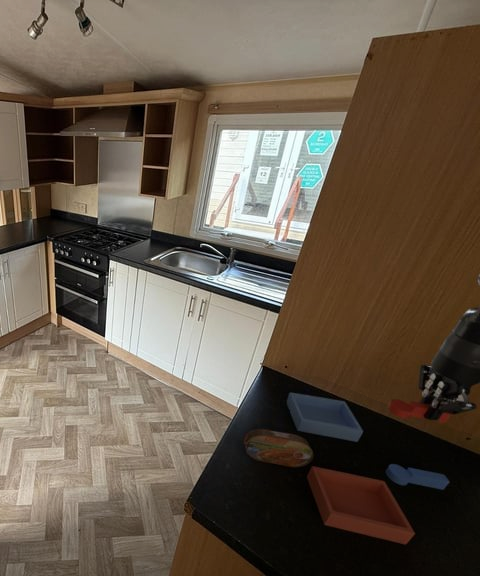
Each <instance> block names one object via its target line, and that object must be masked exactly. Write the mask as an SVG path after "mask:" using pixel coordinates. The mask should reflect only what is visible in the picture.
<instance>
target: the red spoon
mask: <svg viewBox="0 0 480 576" xmlns="http://www.w3.org/2000/svg"><path fill="white" fill-rule="evenodd" d="M419 402H420V401H419ZM419 402H418V401H413V400H410V401H409V402H408V403H407V402H406V401H404V400H401V399H398V398H392V399H391V400H390V401H389V402H388V404H387V410H388V411H389V412H390V413H391V414H392V415H394V416H396V417H399V418H402V419H408V418H410V417H413V418H418V419H419V418H420V419H423V420H424V419H425V420H427V419H426V418H425V417H424V414H425V413H426V411H427V410H428V408H429V406H430V404H424V403H419ZM451 416H452V414H449V413H443V414H442V415H441V416H440V418H439V420H435V422H441V423H447V421H448V420H449V418H450V417H451Z"/></svg>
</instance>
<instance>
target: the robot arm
mask: <svg viewBox="0 0 480 576" xmlns="http://www.w3.org/2000/svg"><path fill="white" fill-rule="evenodd" d="M477 285H478V287H479V288H480V274H478V276H477ZM426 381H427V382H426ZM478 384H480V306H474V307H470V308H469V309H467V310H466V311H465V312H464V313H463V314H462V315H461V317H460V319H458V321H457V323H456V325H455V326H454V328H453V329H452V331H451V332H450V334H448V335H447V336H446V338H445V339H444V341H443V343H442V344H441V346H440V347H439V349H438V351H436V354H435V356H433V358H432V360H431V362H430V365H428V364H420V366H419V375H418V390H419V391H422V392H421V396H422V397H421V399H420V400H419V403H424V404H430V406H429V408H428V410H427V411H426V413H425V414H424V417H425V418H426V419H425V420H428V421H433V422H434V421H435V420H439V418H440V416H441V415H442V414H443V413H449V414H451V415H455V416H456V415H459V414H462V413H466V412H470V411H473V410H476V409H477V404H476V403H475V402H470V401H471V400H470V399H469V397H468V396H469V395H470V393H471V389H472V387H473V386H475V385H478ZM435 422H436V421H435Z"/></svg>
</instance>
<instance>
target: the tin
mask: <svg viewBox="0 0 480 576" xmlns="http://www.w3.org/2000/svg"><path fill="white" fill-rule="evenodd" d="M243 443H244V450H245V452H246V454H247V455H248V456H249V457H250V458H252V459H253V460H256V461H258V462H264V463H269V464H274V465H279V466H283V467H289V468H302V467H305V466H307V465H309V464H310V463H311V462H312V461H313V459H314V451H313V449H312V448H311V445H310V444H309V442H308V441H307V440H306V439H305V438H304V437H302V436H301V435H297V434H293V433H287V432H283V431H277V430H271V429H266V428H256V429H253V430H250V431H249V432H247V433H246V434H245V437H244V440H243Z"/></svg>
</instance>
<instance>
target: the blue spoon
mask: <svg viewBox="0 0 480 576" xmlns="http://www.w3.org/2000/svg"><path fill="white" fill-rule="evenodd" d="M385 474H386V476H387V477H388V479H389V480H390V481H391V482H393V483H395V484H397V485H400V486H407V485H408V484H413V485H418V486H423V487H427V488H432V489H437V490H442V491H444V490H445V489H446V487H447V486H448V485H449V484H450V480H449V478H447V476H446V474H445V473H444V474H443V473H438V472H434V471H428V470H423V469H418V468H414V467H407V469H406V468H404V467H403V466H401V465H399V464H396V463H391V464H389V465H388V467H387V468H386V470H385Z"/></svg>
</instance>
